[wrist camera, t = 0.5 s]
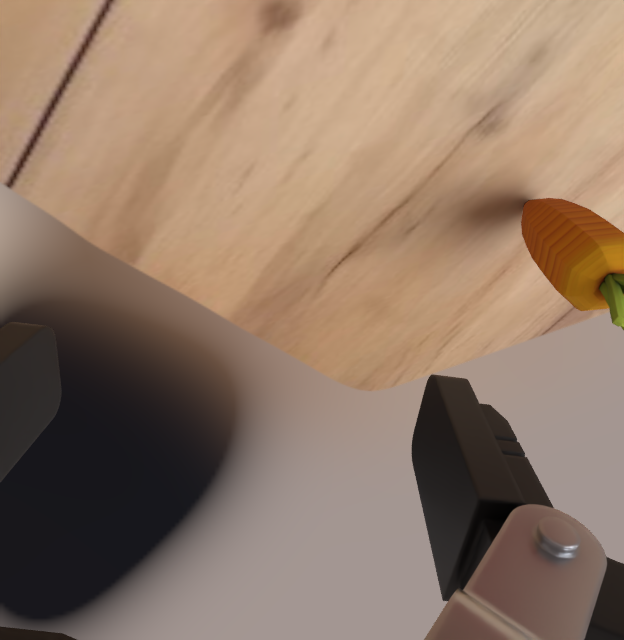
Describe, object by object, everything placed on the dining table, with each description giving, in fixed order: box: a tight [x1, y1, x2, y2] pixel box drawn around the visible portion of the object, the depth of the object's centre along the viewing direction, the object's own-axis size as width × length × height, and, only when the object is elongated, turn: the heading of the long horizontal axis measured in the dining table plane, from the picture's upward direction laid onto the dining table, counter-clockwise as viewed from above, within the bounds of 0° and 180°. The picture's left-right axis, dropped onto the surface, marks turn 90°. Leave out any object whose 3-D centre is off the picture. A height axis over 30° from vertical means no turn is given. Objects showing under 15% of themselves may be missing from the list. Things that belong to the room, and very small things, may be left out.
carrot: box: [521, 198, 624, 330], centre depth 31 cm, size 5×5×15 cm
